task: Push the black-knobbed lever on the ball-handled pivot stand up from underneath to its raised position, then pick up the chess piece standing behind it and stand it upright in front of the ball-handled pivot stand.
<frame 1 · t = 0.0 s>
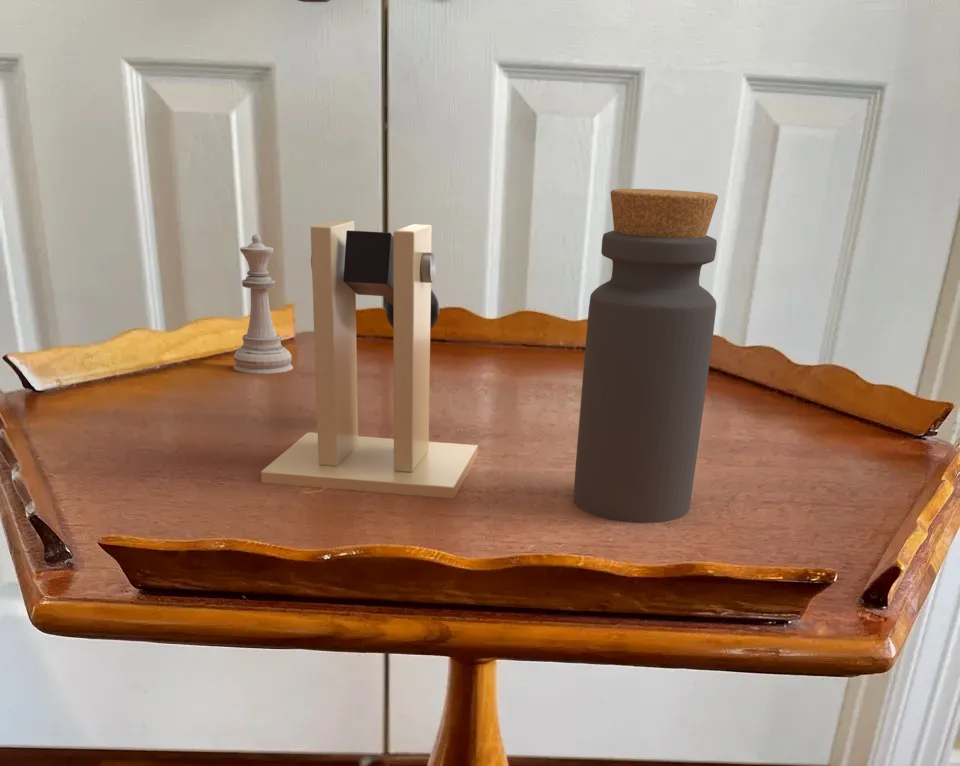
lever: (395, 289, 56), point 9 cm above the table, hinge at -20.0°
chess piece: (264, 378, 78), on the table
bottle: (629, 518, 52), on the table
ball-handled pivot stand: (375, 479, 56), on the table
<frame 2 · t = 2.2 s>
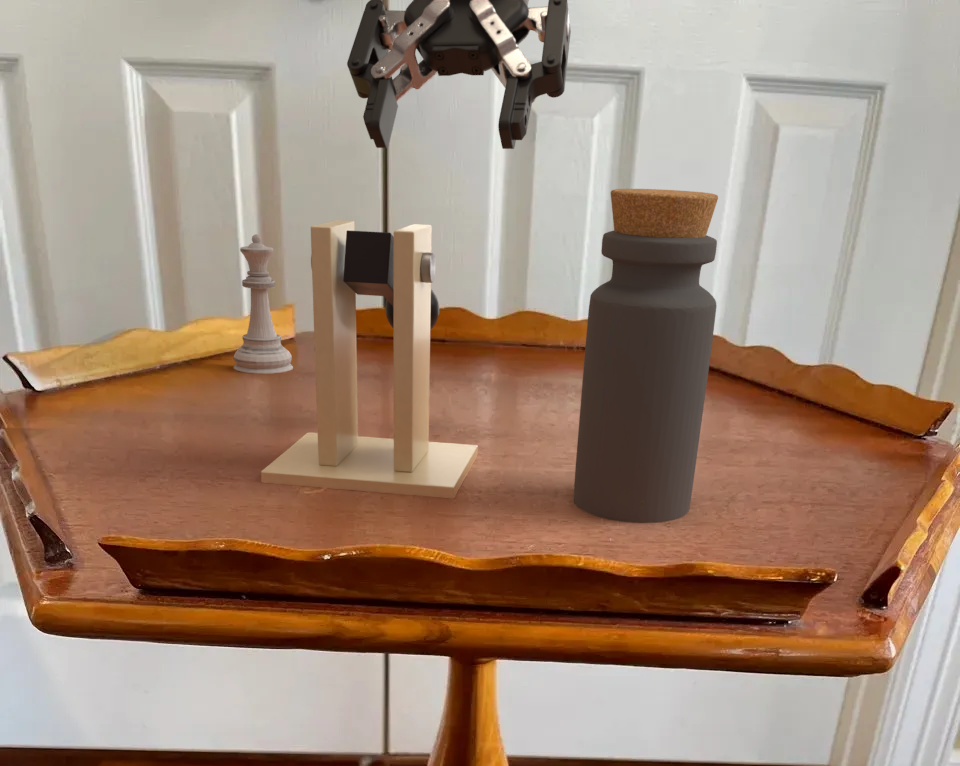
hand: (441, 139, 66), 17 cm above the table, tool tilted 40°, fingers open, 8 cm apart
nothing on the table moved.
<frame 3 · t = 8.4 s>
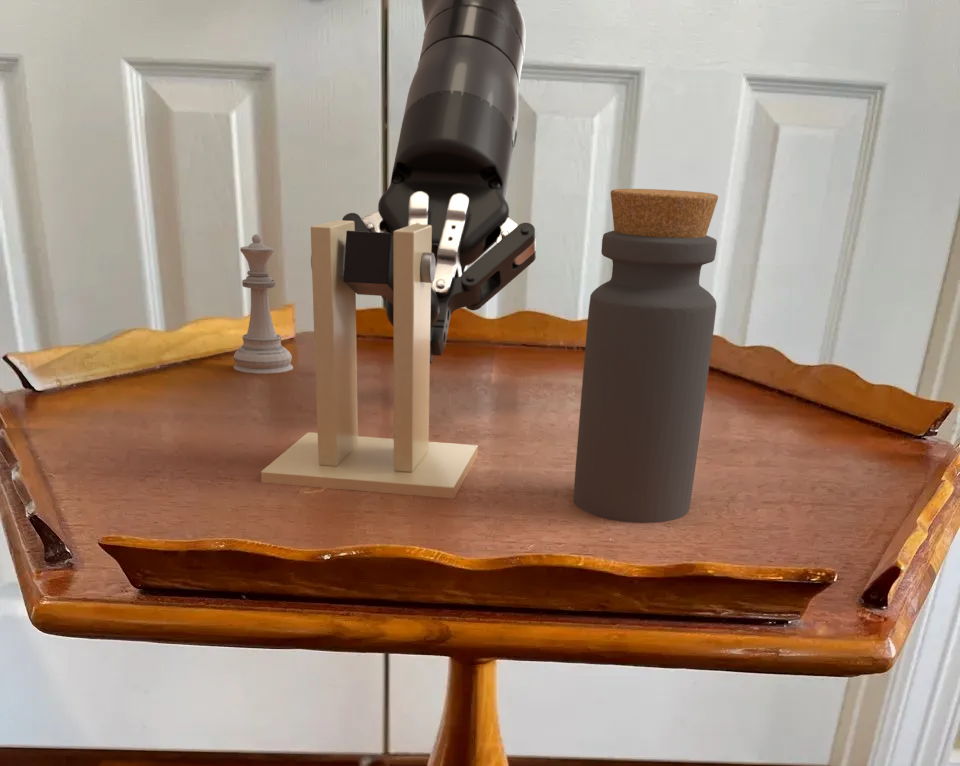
hand: (418, 355, 63), 5 cm above the table, tool tilted 45°, fingers closed
lever: (395, 288, 56), point 9 cm above the table, hinge at -19.5°, touching gripper
everything else where it was.
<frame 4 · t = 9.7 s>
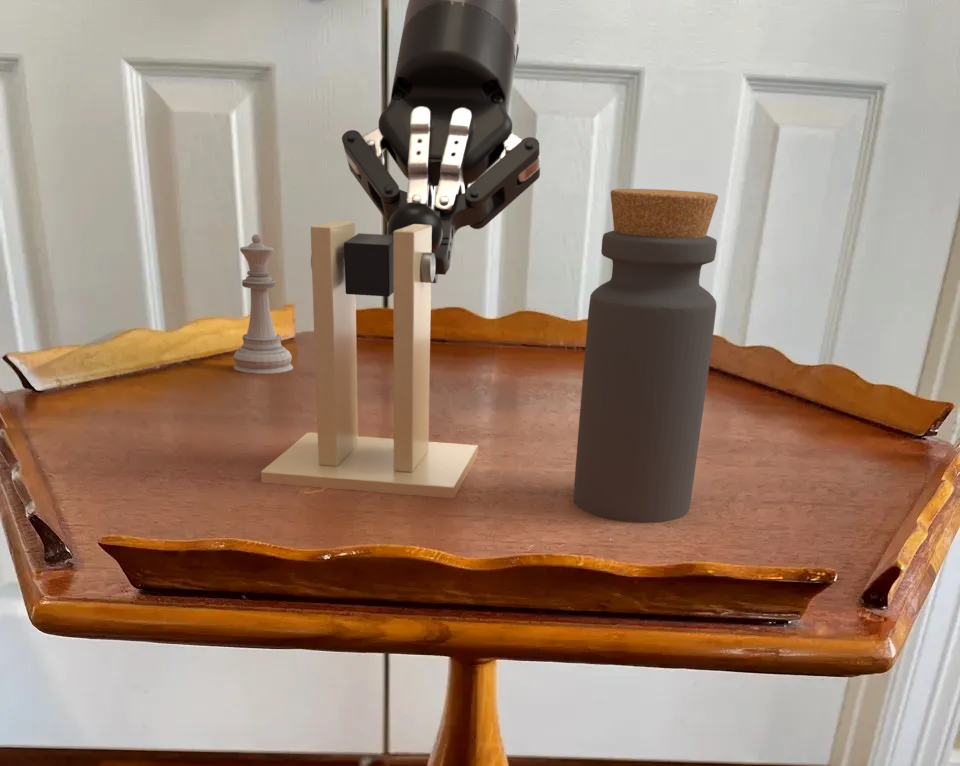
hand: (423, 274, 61), 9 cm above the table, tool tilted 45°, fingers closed
lever: (396, 246, 55), point 11 cm above the table, hinge at 4.5°, touching gripper
everything else where it was.
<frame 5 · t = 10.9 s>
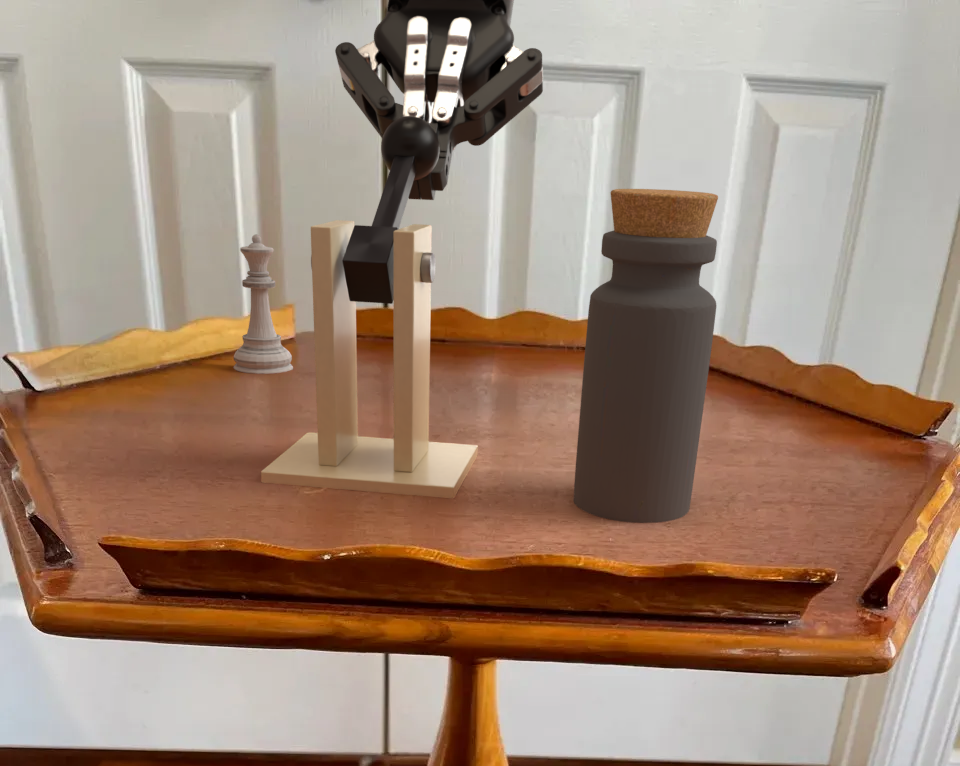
hand: (419, 189, 58), 14 cm above the table, tool tilted 45°, fingers closed
lever: (393, 202, 53), point 14 cm above the table, hinge at 30.9°, touching gripper
everything else where it was.
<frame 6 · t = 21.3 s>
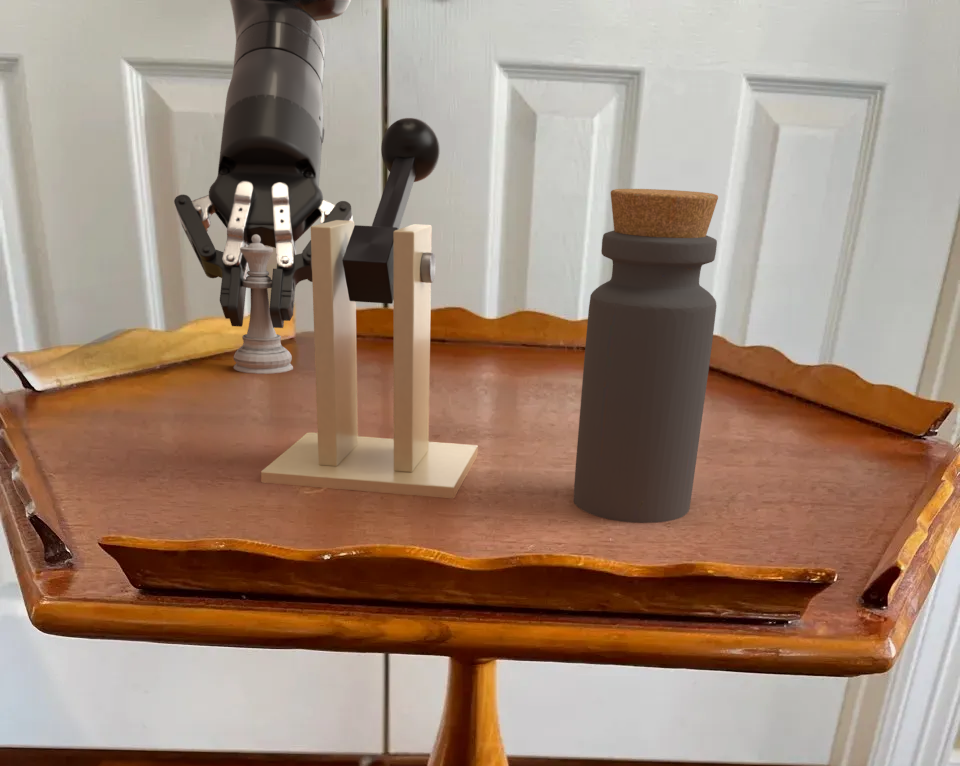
hand: (256, 319, 74), 4 cm above the table, tool tilted 45°, fingers closed on chess piece, 2 cm apart
lever: (393, 203, 53), point 14 cm above the table, hinge at 30.4°
chess piece: (264, 378, 78), on the table, touching gripper
everything else where it was.
when the fingers open (4 cm above the table, at t = 28.8 s): chess piece stays where it is, on the table.
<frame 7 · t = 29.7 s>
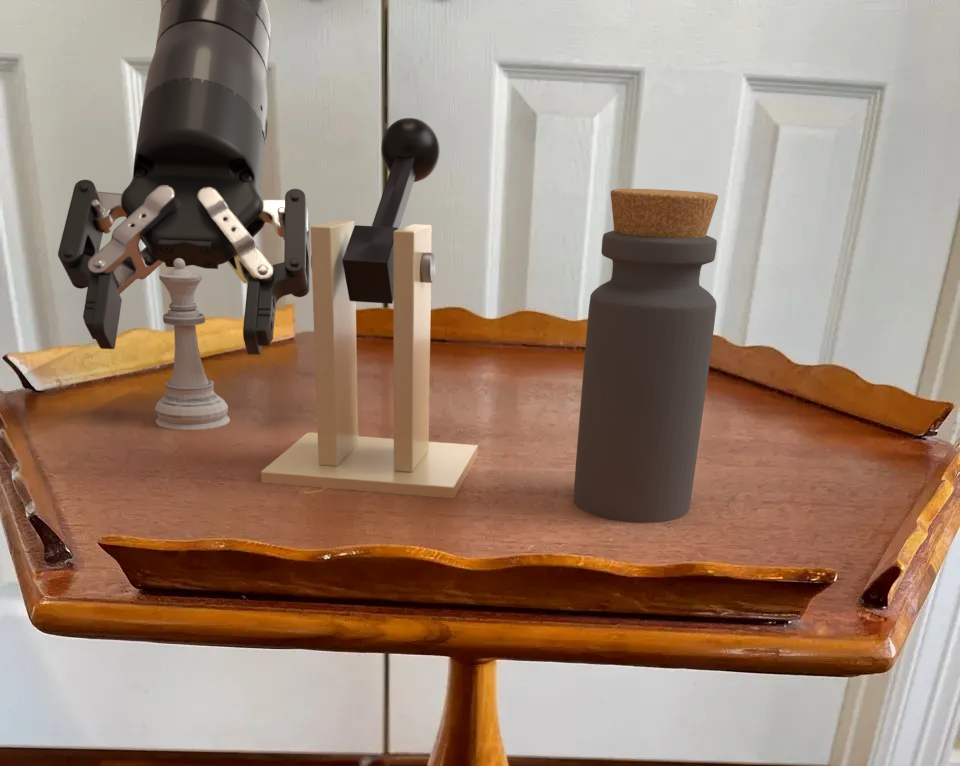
hand: (177, 344, 59), 5 cm above the table, tool tilted 45°, fingers open, 8 cm apart
chess piece: (194, 434, 63), on the table
everything else where it was.
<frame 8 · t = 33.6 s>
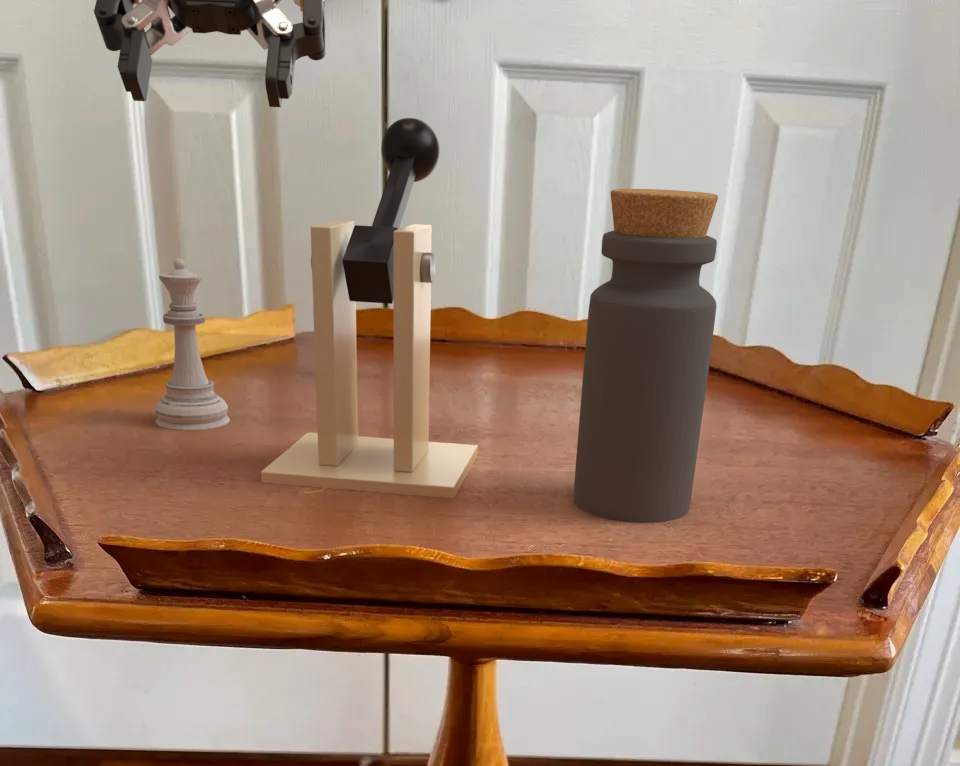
hand: (204, 93, 64), 19 cm above the table, tool tilted 45°, fingers open, 8 cm apart
nothing on the table moved.
at the end: lever at +30° (first picture: -20°); chess piece inside the target area on the table beside the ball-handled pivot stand (0.2 cm from its centre), on the table; chess piece tilted 0° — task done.
